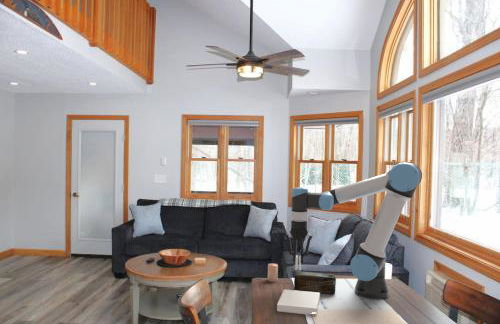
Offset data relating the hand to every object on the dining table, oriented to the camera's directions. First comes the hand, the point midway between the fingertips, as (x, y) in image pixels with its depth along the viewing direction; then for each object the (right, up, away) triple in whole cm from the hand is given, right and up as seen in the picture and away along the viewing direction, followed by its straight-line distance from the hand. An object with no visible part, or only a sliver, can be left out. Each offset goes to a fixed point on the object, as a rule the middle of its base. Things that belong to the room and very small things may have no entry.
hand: (298, 269), depth 196 cm
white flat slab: (-2, -10, -21) cm, 23 cm away
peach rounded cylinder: (-11, -9, +14) cm, 20 cm away
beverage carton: (-1, -11, 0) cm, 11 cm away
